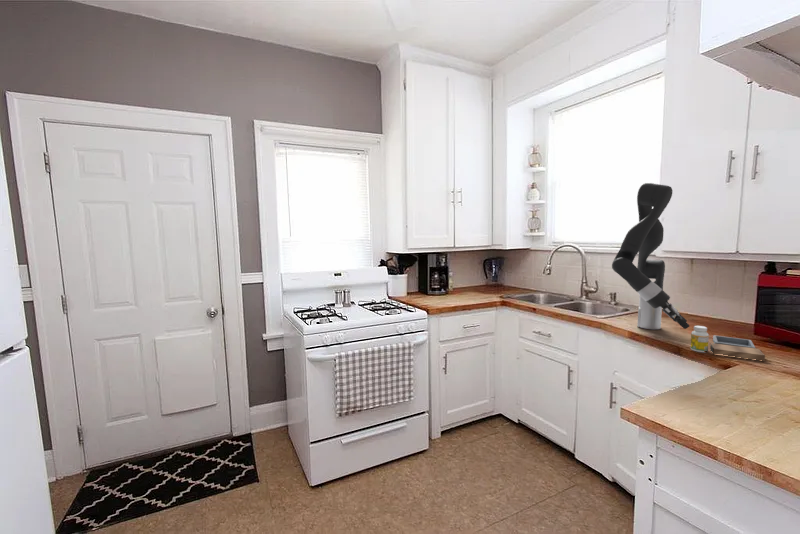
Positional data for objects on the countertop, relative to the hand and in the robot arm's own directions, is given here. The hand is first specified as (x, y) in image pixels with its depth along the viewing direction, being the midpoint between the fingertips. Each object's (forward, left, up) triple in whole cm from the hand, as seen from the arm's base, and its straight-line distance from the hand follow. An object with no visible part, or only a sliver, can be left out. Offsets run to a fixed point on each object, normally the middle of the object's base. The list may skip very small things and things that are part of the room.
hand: (686, 325), depth 145 cm
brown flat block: (+15, +1, -10) cm, 18 cm away
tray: (+15, +13, -10) cm, 22 cm away
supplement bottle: (+4, 0, -10) cm, 11 cm away
